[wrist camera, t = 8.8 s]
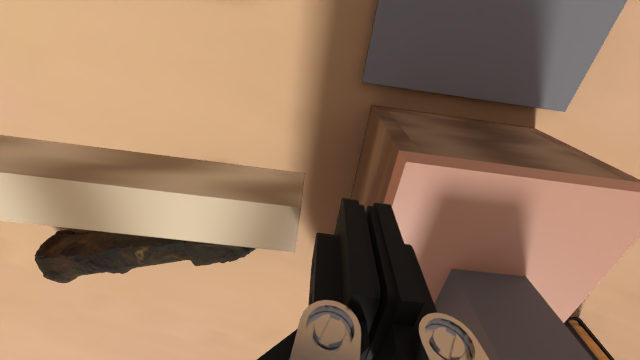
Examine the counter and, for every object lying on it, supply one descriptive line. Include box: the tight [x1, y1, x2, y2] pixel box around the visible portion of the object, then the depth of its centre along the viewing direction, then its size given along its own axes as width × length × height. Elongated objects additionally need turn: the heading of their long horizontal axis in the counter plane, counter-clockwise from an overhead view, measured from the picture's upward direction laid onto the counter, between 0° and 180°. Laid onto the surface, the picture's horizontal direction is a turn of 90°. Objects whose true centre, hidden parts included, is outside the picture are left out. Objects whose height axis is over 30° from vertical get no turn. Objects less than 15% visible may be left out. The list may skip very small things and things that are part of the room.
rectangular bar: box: [0, 135, 305, 252], centre depth 11 cm, size 14×2×2 cm, turn 82°
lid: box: [384, 150, 640, 360], centre depth 15 cm, size 12×17×7 cm
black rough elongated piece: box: [35, 230, 256, 283], centre depth 23 cm, size 19×4×5 cm, turn 98°
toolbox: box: [351, 105, 640, 212], centre depth 21 cm, size 12×17×8 cm
